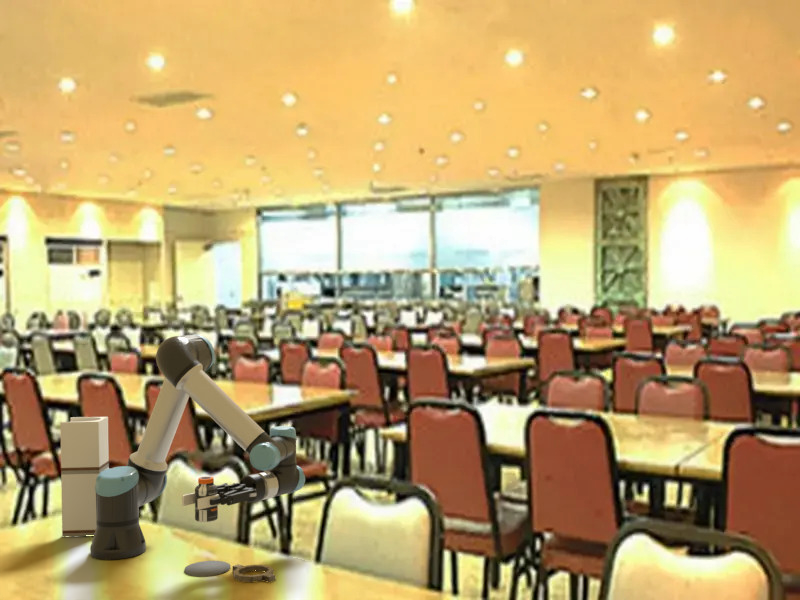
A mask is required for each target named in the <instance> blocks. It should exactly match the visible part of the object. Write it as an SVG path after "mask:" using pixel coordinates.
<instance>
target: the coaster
mask: <svg viewBox="0 0 800 600" xmlns="http://www.w3.org/2000/svg"><path fill="white" fill-rule="evenodd" d="M229 569H231V564H230V563H229V562H226V561H222V560H203V561H197V562H194V563H190V564H189V565H186V566H185V567H184V573H185V574H186V575H188V576H193V577H212V575H214V576H218V574H219V575H222V573H223V574H225V573H227V572H228V570H229ZM229 571H230V570H229ZM224 572H225V573H224Z"/></svg>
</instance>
